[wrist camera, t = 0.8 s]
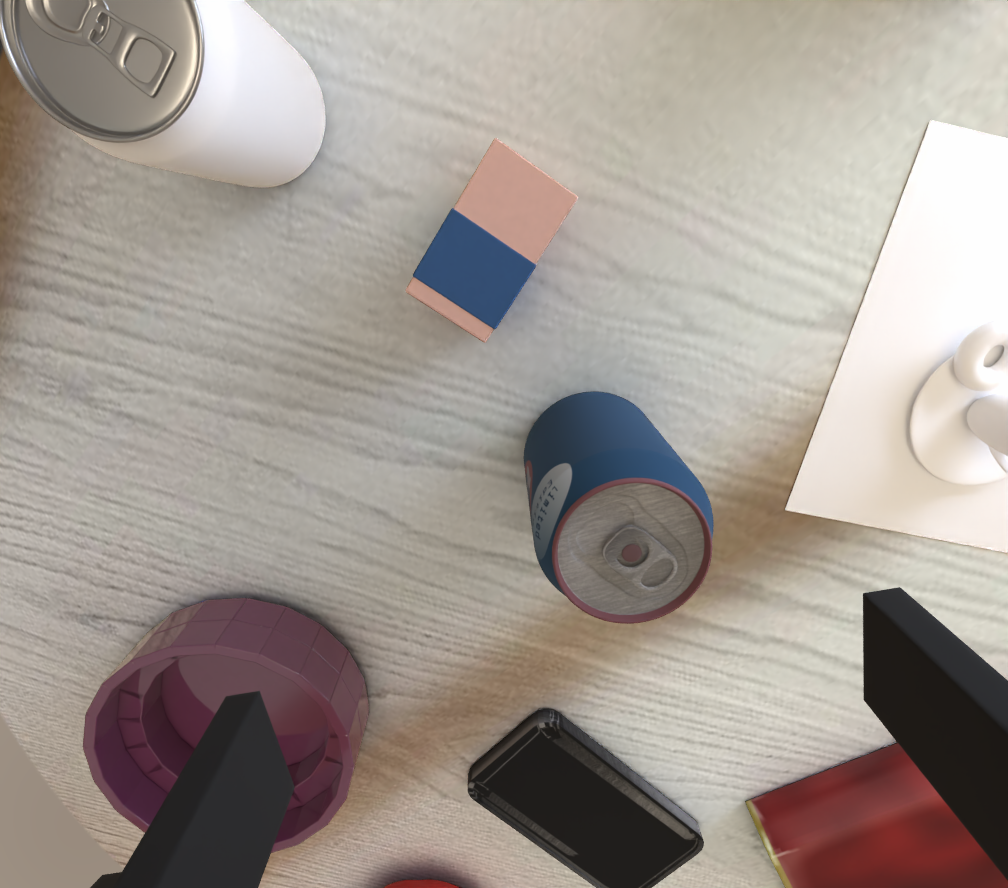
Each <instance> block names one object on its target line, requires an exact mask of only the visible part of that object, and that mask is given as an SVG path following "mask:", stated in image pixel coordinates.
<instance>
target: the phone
mask: <svg viewBox="0 0 1008 888" xmlns="http://www.w3.org/2000/svg"><path fill="white" fill-rule="evenodd" d="M468 793H469V795H470V797H471V798H472V799H473V800H475V801H476V802H477V803H479V804H480V805H482V806H483V807H484V808H486V809H487V810H489V811H490V812H491V813H493V814H494V815H496V816H497V817H498V818H500V819H501V820H503V821H504V822H505V823H507V824H508V825H510V826H511V827H512V828H514V829H515V830H516V831H518V832H519V833H521V834H522V835H523V836H525V837H526V838H528V839H529V840H530V841H532V842H533V843H535V844H536V845H537V846H539V847H540V848H542V849H543V850H544V851H546V852H547V853H549V854H550V855H551V856H553V857H554V858H556V859H557V860H558V861H560V862H561V863H563V864H564V865H565V866H567V867H568V868H570V869H571V870H572V871H574V872H575V873H577V874H578V875H579V876H581V877H582V878H583V879H585V880H586V881H588V882H589V883H590V884H592V885H593V886H595V887H596V888H652V887H653V886H655V885H656V884H657V883H659V882H660V881H661V880H663V879H664V878H665V877H667V876H668V875H670V874H671V873H672V872H674V871H675V870H676V869H678V868H679V867H680V866H682V865H683V864H685V863H686V862H687V861H689V860H690V859H691V858H693V857H694V856H696V855H697V854H698V853H699V852H700V851H701V850H702V848H703V845H704V841H703V838H702V835H701V832H700V829H699V826H698V824H697V822H696V821H695V820H694V819H693V818H691V817H690V816H689V815H688V814H686V813H685V812H684V811H682V810H681V809H680V808H679V807H677V806H676V805H675V804H674V803H672V802H671V801H670V800H669V799H667V798H666V797H665V796H663V795H662V794H661V793H660V792H658V791H657V790H656V789H655V788H653V787H652V786H651V785H650V784H648V783H647V782H646V781H644V780H643V779H642V778H641V777H639V776H638V775H637V774H636V773H634V772H633V771H632V770H630V769H629V768H628V767H627V766H625V765H624V764H623V763H622V762H620V761H619V760H618V759H617V758H615V757H614V756H613V755H611V754H610V753H609V752H608V751H606V750H605V749H604V748H603V747H601V746H600V745H599V744H598V743H596V742H595V741H594V740H592V739H591V738H590V737H589V736H587V735H586V734H585V733H584V732H582V731H581V730H580V729H579V728H577V727H576V726H575V725H573V724H572V723H571V722H570V721H568V720H567V719H566V718H565V717H563V716H562V715H561V714H560V713H558V712H556V711H554V710H550V709H543V710H539V711H537V712H535V713H534V714H532V715H531V716H530V717H529V718H528V719H526V720H525V721H524V722H523V723H522V724H521V725H519V726H518V727H517V728H516V729H515V730H514V731H512V732H511V733H510V734H509V735H508V736H507V737H505V738H504V739H503V740H502V741H501V742H500V743H498V744H497V745H496V746H495V747H494V748H493V749H492V750H490V751H489V752H488V753H487V754H486V755H485V756H483V757H482V758H481V759H480V760H479V761H478V762H476V763H475V764H474V765H473V766H472V767H471V768H470V771H469V773H468Z"/></svg>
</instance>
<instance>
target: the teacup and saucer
mask: <svg viewBox="0 0 1008 888" xmlns="http://www.w3.org/2000/svg"><path fill="white" fill-rule="evenodd" d="M985 393H990V394H988V395H979V396H978V397H977V396H972V395H976V394H985ZM971 399H977V400H975V401H974V402H973V403H972V404H971V405H970V406H969V408H968V410H967V409H966V408H961V407H963V406H965V405H969V404H970V403H969V402H965V401H967V400H971ZM966 410H967V412H966V419H962V420H957V419H959V418H960V417H963V416H964V415H963V414H958V413H960V412H962V411H966ZM963 422H967V425H959V424H961V423H963ZM966 428H969V429H970V430H971V431H962V430H964V429H966ZM909 439H910V444H911V448H912V451H913V453H914V455H915V457H916V459H917V460H918V462H919V463H920V465H921V466H922V467H923V468H924V469H925V470H926V471H927V472H928V473H929V474H931V475H932V476H933V477H935V478H937V479H938V480H940V481H943V482H945V483H948V484H951V485H956V486H963V487H977V486H984V485H989V484H993V483H996V482H999V481H1002V480H1005V479H1007V478H1008V318H1002V319H995V320H991V321H988V322H985V323H983V324H981V325H979V326H977V327H976V328H974V329H973V330H972V331H970V332H969V333H968V334H967V335H966V336H965V337H964V338H963V339H962V341H961V342H960V343H959V345H958V347H957V348H956V351H955V353H954V354H953V355H952V356H950V357H949V358H948V359H946V360H945V361H944V362H943V363H942V364H940V365H939V366H938V367H937V368H936V369H935V370H934V371H933V373H932V374H931V375H930V376H929V377H928V378H927V380H926V381H925V383H924V384H923V386H922V387H921V389H920V390H919V392H918V394H917V396H916V398H915V401H914V403H913V406H912V410H911V414H910V419H909Z"/></svg>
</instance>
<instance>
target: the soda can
mask: <svg viewBox="0 0 1008 888" xmlns="http://www.w3.org/2000/svg"><path fill="white" fill-rule="evenodd" d="M524 467H525V475H526V483H527V491H528V499H529V507H530V515H531V523H532V532H533V540H534V547H535V552H536V556H537V559H538V562H539V564H540V566H541V568H542V570H543V572H544V574H545V575H546V577H547V578H548V579H549V581H550V582H551V583H552V584H553V585H554V586H555V587H556V588H557V589H558V590H559V591H560V592H561V593H563V594H564V595H565V596H567V597H568V599H569V600H570V601H571V602H572V603H573V604H574V605H576V606H577V607H578V608H580V609H581V610H582V611H584V612H586V613H587V614H589V615H591V616H594V617H596V618H598V619H601V620H605V621H609V622H614V623H627V624H628V623H640V622H646V621H650V620H654V619H657V618H659V617H662V616H664V615H666V614H668V613H670V612H672V611H674V610H675V609H677V608H679V607H680V606H681V605H683V604H684V603H685V602H686V601H687V600H688V599H689V598H690V597H691V596H692V595H693V594H694V593H695V592H696V591H697V589H698V588H699V587H700V585H701V583H702V582H703V580H704V578H705V576H706V574H707V571H708V569H709V566H710V562H711V556H712V536H713V514H712V508H711V505H710V501H709V499H708V496H707V494H706V492H705V490H704V488H703V486H702V485H701V483H700V482H699V481H698V479H697V478H696V477H695V476H694V474H693V473H692V472H691V471H690V469H689V468H688V467H687V466H686V465H685V463H684V462H683V461H682V460H681V458H680V457H679V456H678V455H677V454H676V452H675V451H674V450H673V449H672V447H671V446H670V445H669V444H668V443H667V441H666V440H665V439H664V438H663V437H662V435H661V434H660V433H659V432H658V430H657V429H656V428H655V427H654V426H653V424H652V423H651V422H650V421H649V419H648V418H647V417H646V416H645V415H644V413H643V412H642V411H641V410H640V409H639V408H637V407H636V406H635V405H634V404H632V403H631V402H629V401H627V400H626V399H624V398H622V397H619V396H616V395H613V394H610V393H604V392H583V393H578V394H574V395H571V396H568V397H566V398H564V399H561V400H560V401H558V402H556V403H555V404H553V405H552V406H550V407H549V408H548V409H547V410H546V411H544V412H543V413H542V414H541V416H540V417H539V418H538V419H537V421H536V422H535V423H534V425H533V427H532V428H531V430H530V432H529V435H528V437H527V441H526V444H525V450H524Z"/></svg>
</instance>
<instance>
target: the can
mask: <svg viewBox="0 0 1008 888" xmlns="http://www.w3.org/2000/svg"><path fill="white" fill-rule="evenodd" d="M0 38H1V42H2V45H3V48H4V51H5V54H6V56H7V58H8V61H9V63H10V65H11V67H12V69H13V71H14V73H15V74H16V76H17V78H18V79H19V81H20V83H21V84H22V85H23V87H24V88H25V90H26V91H27V92H28V94H29V95H30V96H31V97H32V98H33V100H34V101H35V102H36V103H37V104H38V105H39V106H40V107H41V108H42V109H43V110H44V111H45V112H47V113H48V114H49V115H50V116H51V117H53V118H54V119H55V120H57V121H58V122H59V123H61V124H62V125H64V126H66V127H67V128H69V129H71V130H72V131H73V132H74V133H75V134H76V135H78V136H79V137H80V138H81V139H83V140H84V141H86V142H87V143H89V144H90V145H92V146H93V147H95V148H97V149H99V150H101V151H103V152H105V153H107V154H109V155H112V156H114V157H117V158H119V159H122V160H126V161H129V162H133V163H137V164H141V165H145V166H150V167H154V168H159V169H163V170H168V171H173V172H177V173H182V174H187V175H192V176H197V177H201V178H206V179H211V180H216V181H221V182H226V183H231V184H236V185H242V186H248V187H256V188H268V187H275V186H279V185H282V184H285V183H287V182H290V181H291V180H293V179H295V178H296V177H298V176H299V175H301V174H302V173H303V172H304V171H305V170H306V169H307V168H308V167H309V166H310V164H311V163H312V162H313V160H314V159H315V157H316V155H317V153H318V151H319V149H320V147H321V144H322V141H323V137H324V132H325V122H326V114H325V104H324V99H323V95H322V91H321V88H320V86H319V83H318V81H317V79H316V77H315V75H314V73H313V71H312V69H311V68H310V66H309V65H308V64H307V62H306V61H305V60H304V58H303V57H302V56H301V55H300V54H299V53H298V52H297V51H296V49H295V48H294V47H293V46H292V45H290V44H289V43H288V42H287V41H286V40H285V39H284V38H283V37H282V36H281V35H280V34H279V33H278V32H277V31H276V30H275V29H274V28H273V27H272V26H271V25H270V24H268V23H267V22H266V21H265V20H264V19H263V18H262V17H261V16H260V15H259V14H258V13H257V12H256V11H255V10H254V9H252V8H251V7H250V6H249V5H248V4H247V3H246V2H245V1H244V0H0Z"/></svg>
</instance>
